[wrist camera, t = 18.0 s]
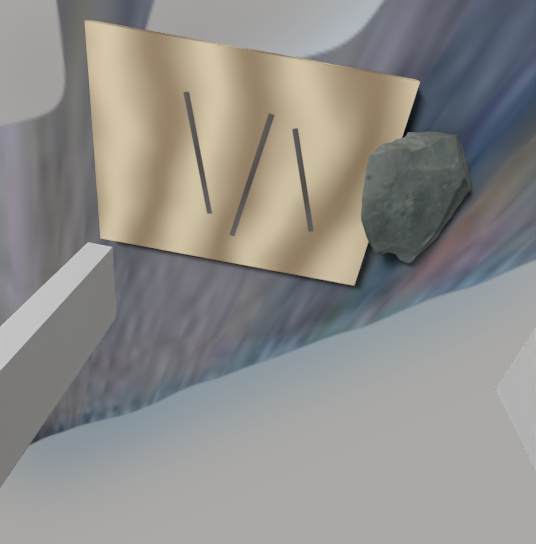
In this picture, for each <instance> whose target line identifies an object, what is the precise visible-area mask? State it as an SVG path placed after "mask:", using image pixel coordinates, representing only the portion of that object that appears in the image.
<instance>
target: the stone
mask: <svg viewBox="0 0 536 544" xmlns="http://www.w3.org/2000/svg"><path fill="white" fill-rule="evenodd" d="M471 190H472V183H471V179H470V173H469V169H468V162H467V160H466V158H465V154H464V151H463V147H462V144H461V141H460V137H459V135H458V134H450V133H442V132H421V133H416V132H408V133H407V135H406V137H403V138H401V139H395V140H394V141H393V142H390V143H384V144H381V145H380V146H379V147H378V148H377V149H376V150H375V151H374V152H373V153H372V154H371V155H370V156H369V159H368V164H367V169H366V175H365V181H364V188H363V194H362V208H361V221H362V224H363V227H364V230H365V234H366V237H367V239H368V241H369V244H370V245H371V246H372V248H373V252H374V254H377V253H379V252H380V254H385V253H387V252H388V253H394V254H396V256H397V257H398V258H399V260H401V261H403V262H405V263H411V262H412V261H413V260H414V259H415V258H416V257H417V256H418V255H419V254H420V253H421V252H422V251H424V250H425V249H426V248H427V247H428V246H429V245H430V244H431V243H432V242H433V241H434V240H435V239H436V238H437V237H438V236H439V234H440V233H441V229H442V228H443V227H444V225H445V224H446V223H447V222H448V221H449V220H450V219H451V217H452V215H453V214H454V212H455V210H456V209H457V207H458V206H459V205H460V203H461V202H462V200H463V198H464V197H465V196H466V194H467V193H468V192H470V191H471Z"/></svg>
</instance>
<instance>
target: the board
mask: <svg viewBox="0 0 536 544" xmlns="http://www.w3.org/2000/svg"><path fill="white" fill-rule="evenodd" d="M85 32H86V45H87V59H88V73H89V87H90V100H91V114H92V128H93V141H94V155H95V169H96V183H97V196H98V210H99V224H100V237H101V238H102V239H107V240H112V241H118V242H123V243H128V244H134V245H139V246H145V247H150V248H155V249H161V250H166V251H171V252H177V253H182V254H187V255H193V256H198V257H203V258H209V259H214V260H219V261H225V262H230V263H235V264H241V265H246V266H252V267H257V268H262V269H268V270H273V271H278V272H284V273H289V274H294V275H300V276H305V277H310V278H316V279H321V280H326V281H332V282H337V283H342V284H348V285H353V286H354V285H355V282H356V279H357V276H358V273H359V270H360V267H361V264H362V260H363V257H364V254H365V251H366V248H367V245H368V242H369V241H368V239H367V237H366V234H365V230H364V227H363V224H362V221H361V208H362V194H363V188H364V181H365V175H366V169H367V164H368V159H369V156H370V155H371V154H372V153H373V152H374V151H375V150H376V149H377V148H378V147H379V146H380V145H381V144H384V143H390V142H393V141H394V140H395V139H401V138H402V136H403V133H404V130H405V127H406V124H407V121H408V118H409V115H410V112H411V109H412V105H413V102H414V99H415V96H416V93H417V90H418V87H419V84H420V82H419V81H418V80H416V79H411V78H406V77H400V76H395V75H389V74H384V73H378V72H373V71H367V70H362V69H357V68H351V67H346V66H340V65H335V64H329V63H324V62H318V61H313V60H307V59H302V58H296V57H290V56H285V55H280V54H275V53H268V52H264V51H258V50H253V49H247V48H241V47H236V46H231V45H225V44H220V43H214V42H209V41H203V40H198V39H192V38H187V37H182V36H176V35H171V34H165V33H159V32H154V31H149V30H143V29H138V28H132V27H127V26H121V25H116V24H110V23H105V22H100V21H85Z"/></svg>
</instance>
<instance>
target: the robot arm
mask: <svg viewBox="0 0 536 544" xmlns="http://www.w3.org/2000/svg"><path fill="white" fill-rule="evenodd" d="M115 318H116V304H115V284H114V263H113V247H110V246H105V245H99V244H94V243H89V242H88V243H87V244H86V245H85V246H84V247H83V248H82V249H81V250H80V251H79V252H77V253H76V254H75V255H74V256H73V257H72V258H71V259H70V260H69V261H68V262H67V263H66V264H65V265H64V266H63V267H62V268H61V269H60V270H59V271H58V272H57V273H56V274H55V275H54V276H52V277H51V278H50V279H49V280H48V281H47V282H46V283H45V284H44V285H43V286H42V287H41V288H40V289H39V290H38V291H37V292H36V293H35V294H34V295H33V296H32V297H31V298H30V299H29V300H27V301H26V302H25V303H24V304H23V305H22V306H21V307H20V308H19V309H18V310H17V311H16V312H15V313H14V314H13V315H12V316H11V317H10V318H9V319H8V320H7V321H6V322H5V323H4V324H2V325H1V326H0V487H1V486H2V484H3V483H4V481H5V480H6V478H7V477H8V476H9V474H10V473H11V471H12V470H13V468H14V466H15V465H16V463H17V462H18V461H19V459H20V458H21V456H22V455H23V453H24V452H25V451H26V449H27V448H28V446H29V445H30V443H31V442H32V440H33V439H34V437H35V436H36V434H37V433H38V431H39V430H40V429H41V427H42V426H43V424H44V423H45V421H46V420H47V418H48V417H49V415H50V414H51V412H52V411H53V409H54V408H55V406H56V405H57V404H58V402H59V401H60V399H61V398H62V396H63V395H64V393H65V392H66V390H67V389H68V387H69V386H70V384H71V383H72V381H73V380H74V378H75V377H76V376H77V374H78V373H79V371H80V370H81V368H82V367H83V365H84V364H85V362H86V361H87V359H88V358H89V356H90V355H91V353H92V352H93V351H94V349H95V348H96V346H97V345H98V343H99V342H100V340H101V339H102V337H103V336H104V334H105V333H106V331H107V330H108V328H109V327H110V326H111V324H112V323H113V321H114V320H115ZM495 391H496V393H497V395H498V397H499V399H500V401H501V403H502V405H503V407H504V409H505V411H506V413H507V415H508V417H509V419H510V421H511V423H512V425H513V427H514V429H515V431H516V433H517V435H518V437H519V439H520V442H521V444H522V446H523V448H524V450H525V451H526V454H527V456H528V458H529V460H530V462H531V464H532V466H533V468H534V470H535V472H536V327H535V329H534V330H533V332H532V333H531V335H530V336H529V338H528V339H527V341H526V342H525V344H524V345H523V347H522V348H521V350H520V352H519V353H518V355H517V356H516V358H515V359H514V361H513V362H512V364H511V365H510V367H509V368H508V370H507V371H506V373H505V374H504V376H503V377H502V379H501V380H500V382H499V383H498V385H497V386H496V388H495Z"/></svg>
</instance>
